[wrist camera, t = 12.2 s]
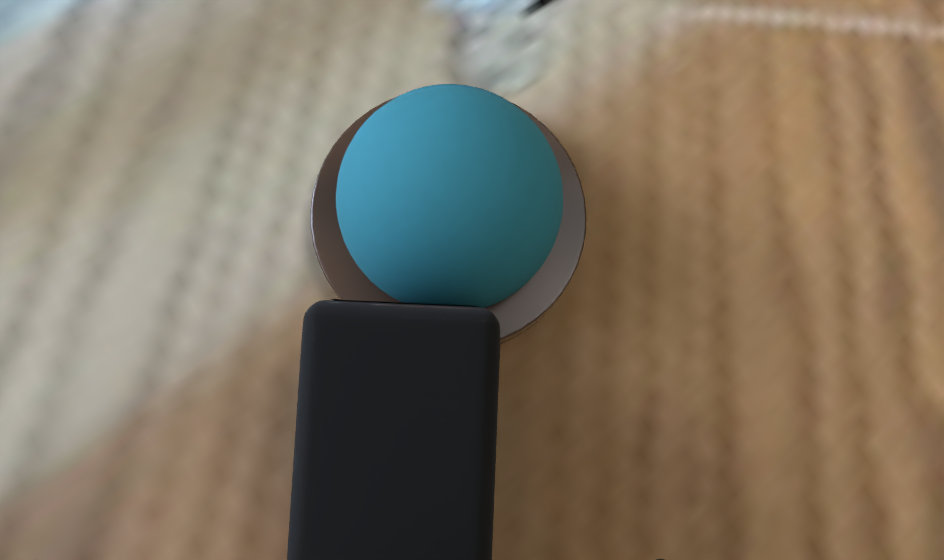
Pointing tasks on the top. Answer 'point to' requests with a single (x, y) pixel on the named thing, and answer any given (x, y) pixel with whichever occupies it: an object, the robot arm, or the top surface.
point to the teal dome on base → (450, 207)
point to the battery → (395, 432)
